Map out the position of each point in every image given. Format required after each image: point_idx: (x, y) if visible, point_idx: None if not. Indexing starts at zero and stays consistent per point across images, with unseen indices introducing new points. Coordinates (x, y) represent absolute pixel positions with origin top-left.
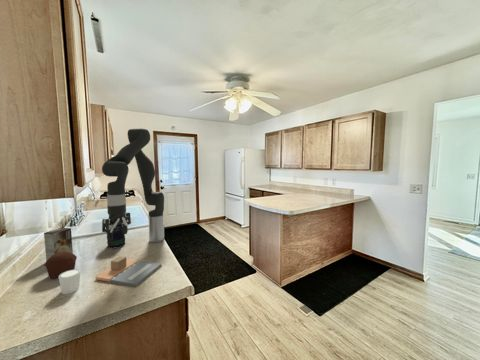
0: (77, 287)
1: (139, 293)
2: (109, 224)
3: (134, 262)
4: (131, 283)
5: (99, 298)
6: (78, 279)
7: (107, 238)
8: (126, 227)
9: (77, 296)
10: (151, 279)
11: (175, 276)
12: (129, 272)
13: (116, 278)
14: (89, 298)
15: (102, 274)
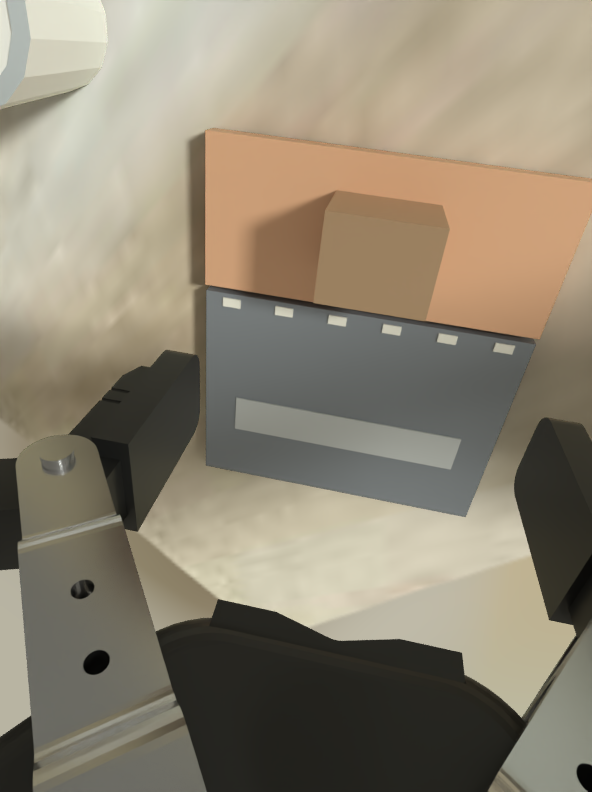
0: (62, 92)
1: (169, 491)
2: (56, 619)
3: (488, 323)
4: (206, 441)
5: (70, 330)
6: (31, 99)
7: (126, 384)
8: (560, 609)
9: (26, 174)
10: (293, 500)
11: (338, 590)
12: (321, 367)
13: (230, 323)
14: (47, 273)
15: (251, 167)
